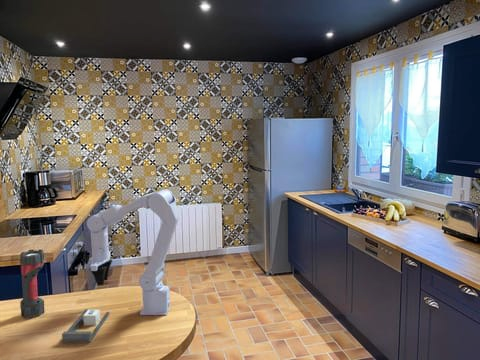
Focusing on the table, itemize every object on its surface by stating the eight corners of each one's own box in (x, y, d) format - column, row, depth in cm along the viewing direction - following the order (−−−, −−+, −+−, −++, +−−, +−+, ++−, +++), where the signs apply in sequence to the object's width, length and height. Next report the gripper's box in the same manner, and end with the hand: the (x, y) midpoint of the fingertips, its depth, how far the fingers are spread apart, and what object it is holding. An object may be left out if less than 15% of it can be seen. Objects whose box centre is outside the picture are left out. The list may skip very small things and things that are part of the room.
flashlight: (54, 310, 135) (49, 249, 131) (35, 321, 128) (29, 257, 124) (38, 307, 138) (33, 247, 134) (19, 317, 130) (13, 254, 127)
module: (100, 319, 129) (99, 308, 128) (96, 325, 125) (95, 314, 124) (88, 319, 129) (88, 308, 128) (84, 325, 125) (83, 314, 124)
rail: (109, 314, 132) (108, 306, 131) (90, 342, 115) (89, 333, 114) (85, 314, 132) (84, 306, 131) (62, 343, 115) (61, 334, 114)
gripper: (96, 240, 142) (98, 274, 144) (80, 253, 127) (83, 291, 129) (115, 240, 142) (117, 274, 144) (101, 253, 127) (103, 290, 129)
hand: (102, 282), depth 136 cm, fingers open, 3 cm apart
